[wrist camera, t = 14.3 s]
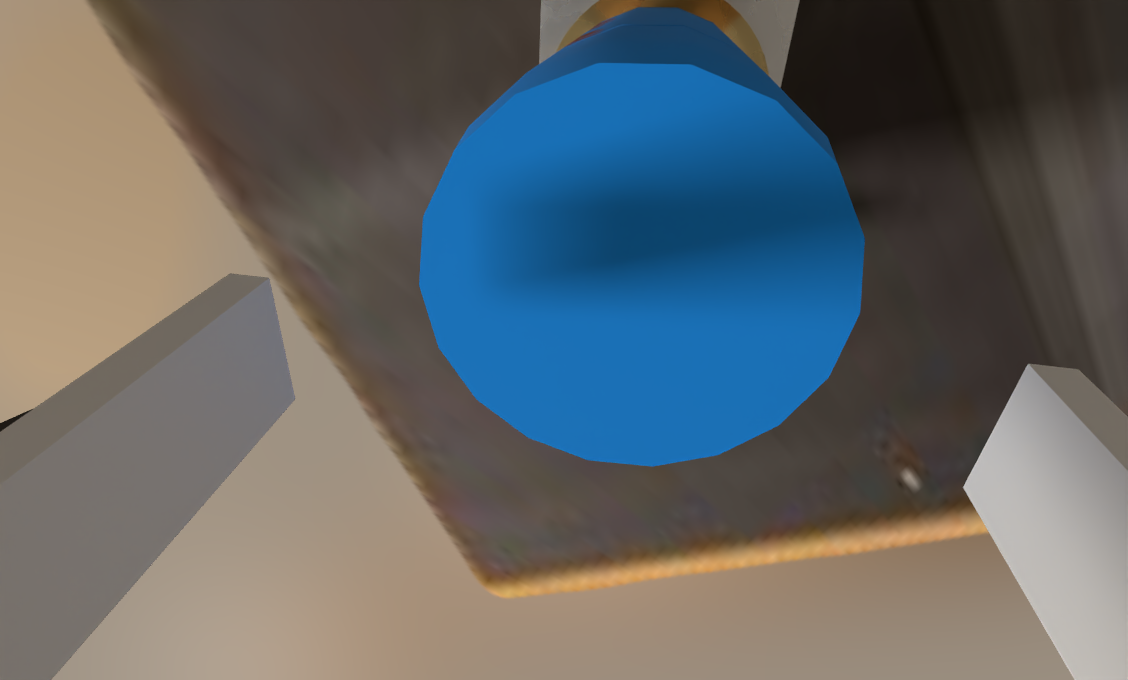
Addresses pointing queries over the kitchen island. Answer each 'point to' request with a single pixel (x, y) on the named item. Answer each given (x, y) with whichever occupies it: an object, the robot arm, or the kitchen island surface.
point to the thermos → (643, 247)
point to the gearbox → (733, 3)
